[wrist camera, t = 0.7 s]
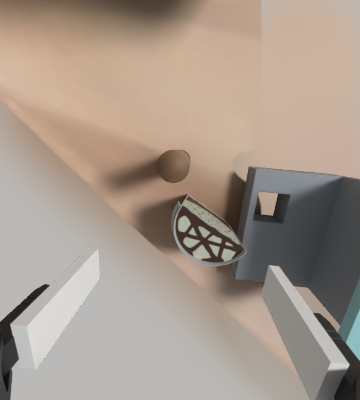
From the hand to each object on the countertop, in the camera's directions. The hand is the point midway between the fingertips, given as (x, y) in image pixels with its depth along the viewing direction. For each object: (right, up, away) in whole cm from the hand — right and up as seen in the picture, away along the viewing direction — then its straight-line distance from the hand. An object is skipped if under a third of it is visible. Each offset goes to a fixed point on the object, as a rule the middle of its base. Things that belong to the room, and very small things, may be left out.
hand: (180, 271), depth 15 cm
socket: (+18, +1, +21) cm, 27 cm away
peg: (0, +13, +19) cm, 23 cm away
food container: (+3, +2, +22) cm, 22 cm away
